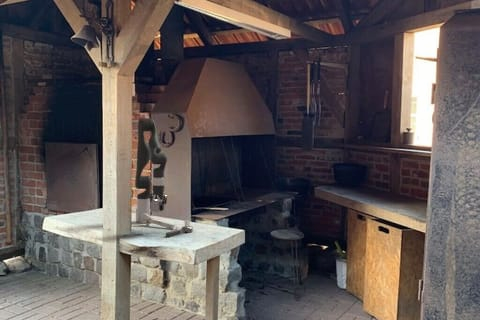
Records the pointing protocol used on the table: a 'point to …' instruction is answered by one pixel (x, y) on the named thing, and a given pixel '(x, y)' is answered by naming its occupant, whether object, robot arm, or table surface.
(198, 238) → the table surface
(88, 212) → the table surface
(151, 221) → the wrench
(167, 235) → the ratchet
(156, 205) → the socket
